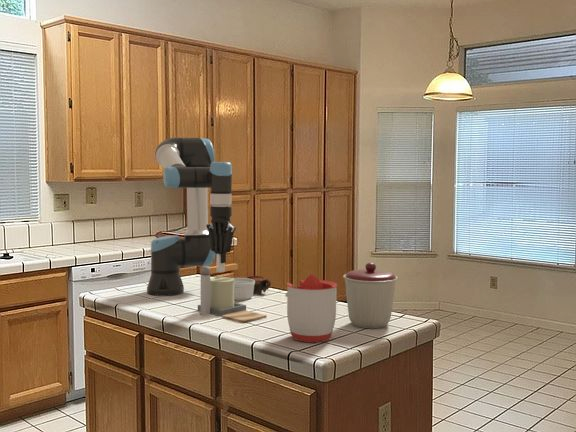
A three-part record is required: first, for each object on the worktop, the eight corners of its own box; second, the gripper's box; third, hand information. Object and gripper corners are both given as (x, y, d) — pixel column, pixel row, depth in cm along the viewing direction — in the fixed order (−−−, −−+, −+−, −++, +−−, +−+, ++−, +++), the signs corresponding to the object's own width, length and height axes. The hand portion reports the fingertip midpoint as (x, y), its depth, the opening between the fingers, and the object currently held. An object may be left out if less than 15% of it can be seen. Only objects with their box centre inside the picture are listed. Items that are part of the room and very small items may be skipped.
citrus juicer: (303, 327, 202) (304, 267, 200) (346, 337, 191) (347, 273, 189) (271, 337, 190) (271, 273, 189) (315, 348, 179) (316, 280, 177)
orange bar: (199, 273, 218) (199, 266, 218) (233, 268, 230) (233, 261, 230) (205, 275, 216) (205, 267, 216) (238, 269, 228) (238, 262, 228)
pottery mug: (240, 295, 254) (240, 276, 258) (251, 301, 262) (250, 283, 266) (267, 290, 250) (266, 271, 254) (276, 296, 258) (275, 278, 262)
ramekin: (239, 302, 239) (239, 285, 238) (214, 298, 247) (214, 281, 246) (261, 297, 249) (261, 280, 249) (237, 293, 257) (237, 276, 257)
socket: (191, 311, 222) (191, 273, 221) (222, 305, 234) (222, 268, 233) (214, 317, 214) (214, 277, 213) (246, 310, 226) (246, 272, 225)
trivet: (221, 317, 214) (221, 315, 214) (244, 312, 222) (244, 310, 222) (244, 323, 207) (244, 320, 207) (266, 317, 215) (266, 315, 215)
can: (223, 306, 232) (224, 275, 231) (239, 310, 225) (239, 278, 224) (204, 310, 225) (204, 277, 224) (219, 314, 219) (219, 281, 218)
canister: (331, 325, 206) (332, 262, 204) (361, 315, 219) (362, 257, 218) (378, 335, 194) (379, 269, 192) (406, 324, 208) (408, 262, 206)
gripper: (241, 206, 215) (241, 272, 217) (216, 204, 224) (216, 268, 226) (225, 207, 210) (225, 275, 212) (200, 205, 218) (200, 270, 220)
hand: (220, 271), depth 219 cm, fingers closed
